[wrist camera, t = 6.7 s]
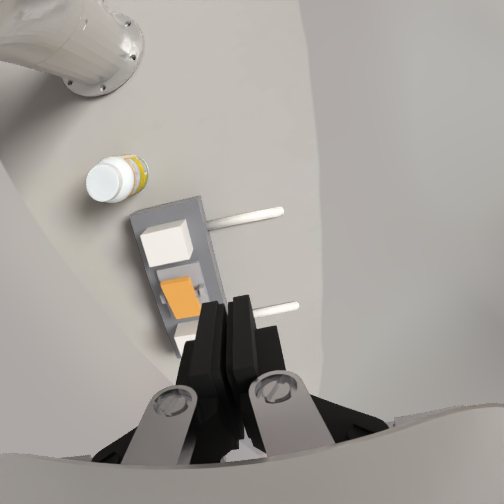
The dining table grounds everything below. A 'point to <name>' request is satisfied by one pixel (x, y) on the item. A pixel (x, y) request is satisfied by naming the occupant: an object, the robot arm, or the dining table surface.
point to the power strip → (198, 253)
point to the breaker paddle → (182, 297)
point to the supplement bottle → (117, 178)
